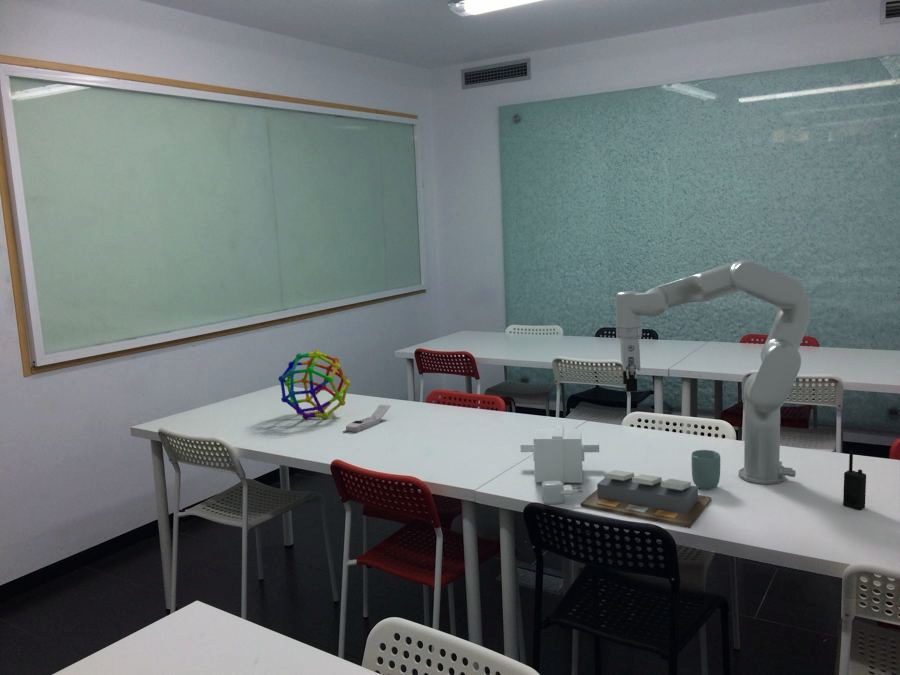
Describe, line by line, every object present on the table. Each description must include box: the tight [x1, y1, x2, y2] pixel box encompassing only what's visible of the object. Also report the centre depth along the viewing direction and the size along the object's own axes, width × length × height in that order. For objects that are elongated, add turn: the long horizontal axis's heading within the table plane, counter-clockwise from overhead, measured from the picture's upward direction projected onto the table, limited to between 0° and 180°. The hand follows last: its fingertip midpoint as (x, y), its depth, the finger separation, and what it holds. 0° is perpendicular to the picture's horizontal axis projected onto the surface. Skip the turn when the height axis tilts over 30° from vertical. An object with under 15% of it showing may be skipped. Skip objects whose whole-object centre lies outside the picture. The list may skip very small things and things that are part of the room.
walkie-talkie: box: [842, 450, 867, 511], centre depth 186 cm, size 5×3×15 cm
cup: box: [691, 449, 721, 491], centre depth 205 cm, size 8×8×10 cm
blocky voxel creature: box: [519, 425, 600, 485], centre depth 226 cm, size 15×25×28 cm
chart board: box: [579, 489, 713, 529], centre depth 197 cm, size 30×20×1 cm, turn 55°
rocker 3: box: [661, 478, 692, 490], centre depth 192 cm, size 6×8×1 cm
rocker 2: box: [632, 473, 663, 485], centre depth 197 cm, size 6×8×1 cm
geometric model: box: [278, 349, 351, 420], centre depth 304 cm, size 30×30×30 cm
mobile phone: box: [342, 404, 391, 434], centre depth 290 cm, size 6×6×25 cm
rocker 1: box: [603, 469, 635, 481], centre depth 201 cm, size 6×8×1 cm
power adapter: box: [541, 481, 584, 505], centre depth 201 cm, size 11×5×6 cm, turn 90°
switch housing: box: [596, 475, 699, 514], centre depth 197 cm, size 25×10×5 cm, turn 55°
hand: (630, 387), depth 218 cm, fingers open, 9 cm apart
